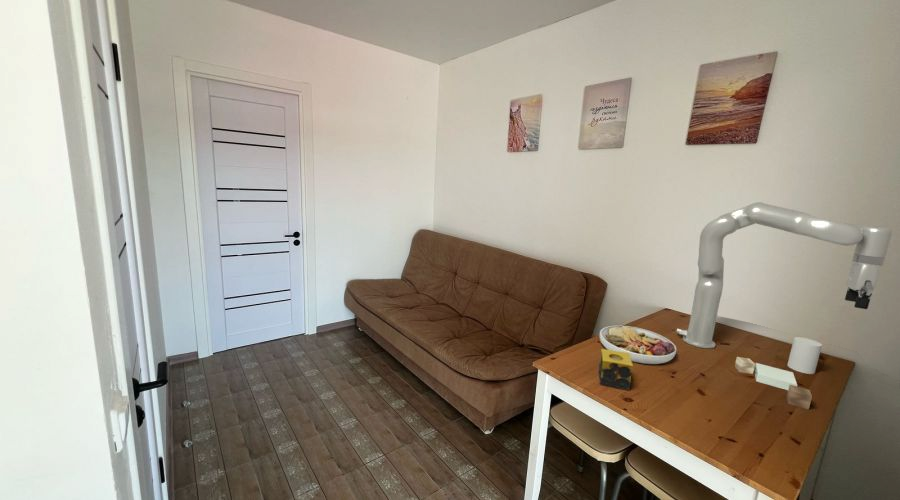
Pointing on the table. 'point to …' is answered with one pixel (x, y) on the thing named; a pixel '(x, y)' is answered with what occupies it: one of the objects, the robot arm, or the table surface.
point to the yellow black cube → (615, 369)
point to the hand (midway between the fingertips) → (855, 304)
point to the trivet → (774, 376)
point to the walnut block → (799, 396)
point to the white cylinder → (804, 355)
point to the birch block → (744, 365)
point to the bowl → (638, 344)
